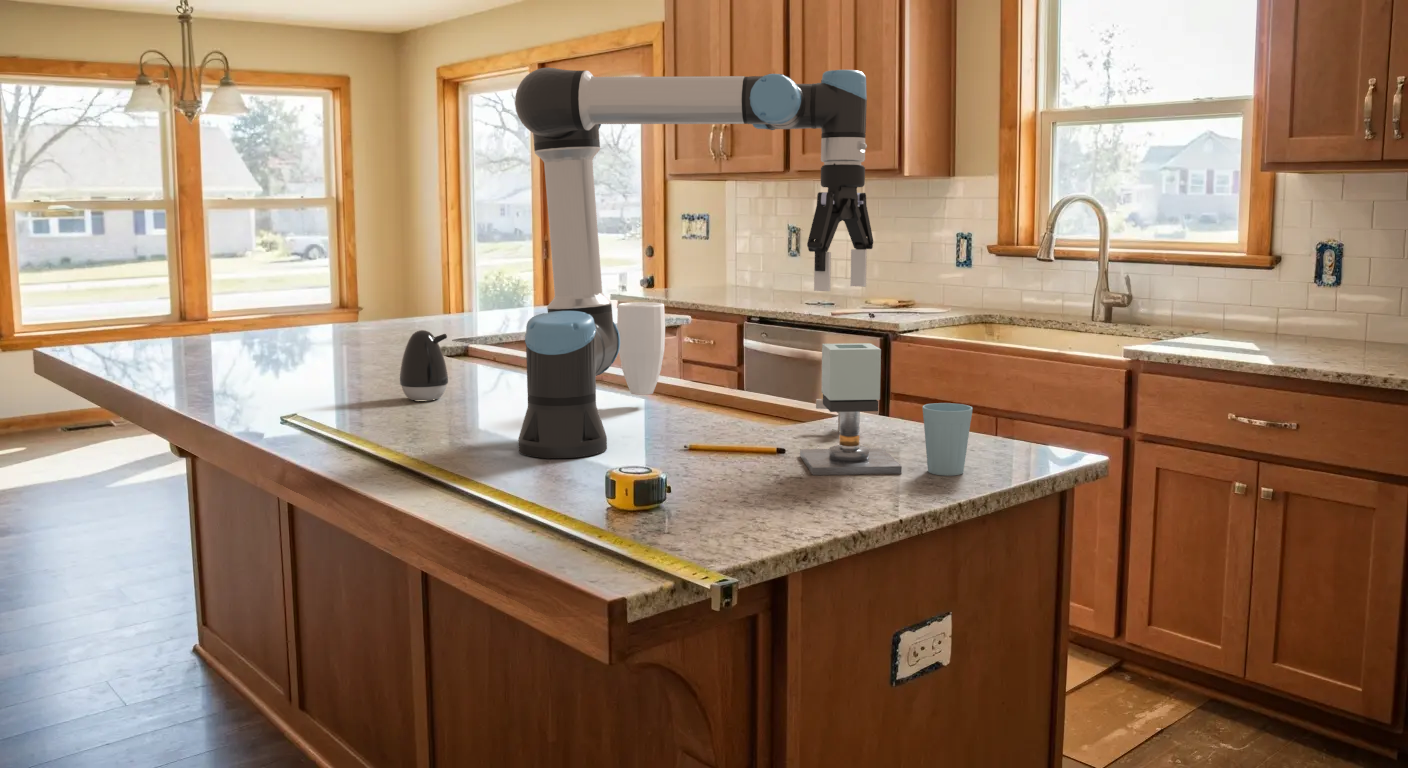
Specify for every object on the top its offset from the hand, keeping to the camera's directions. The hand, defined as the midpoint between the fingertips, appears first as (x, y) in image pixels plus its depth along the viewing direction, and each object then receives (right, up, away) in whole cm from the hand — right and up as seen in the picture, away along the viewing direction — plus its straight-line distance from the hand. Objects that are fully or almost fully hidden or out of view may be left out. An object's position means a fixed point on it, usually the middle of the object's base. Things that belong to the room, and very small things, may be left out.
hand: (840, 288), depth 204 cm
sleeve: (0, -18, -15) cm, 24 cm away
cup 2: (-37, -22, +42) cm, 60 cm away
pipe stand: (0, -30, -13) cm, 32 cm away
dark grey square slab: (0, -20, -15) cm, 24 cm away
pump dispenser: (-84, -20, +52) cm, 101 cm away
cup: (+14, -31, -18) cm, 38 cm away
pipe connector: (+2, -26, +15) cm, 30 cm away
